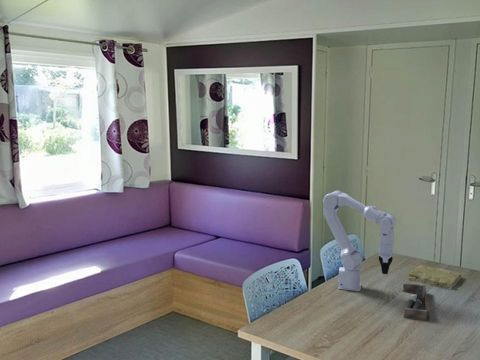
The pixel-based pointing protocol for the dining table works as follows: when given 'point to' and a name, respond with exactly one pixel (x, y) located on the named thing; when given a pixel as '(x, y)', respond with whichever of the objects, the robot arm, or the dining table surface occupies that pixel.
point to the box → (416, 312)
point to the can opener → (416, 299)
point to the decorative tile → (435, 276)
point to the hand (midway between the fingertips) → (384, 273)
